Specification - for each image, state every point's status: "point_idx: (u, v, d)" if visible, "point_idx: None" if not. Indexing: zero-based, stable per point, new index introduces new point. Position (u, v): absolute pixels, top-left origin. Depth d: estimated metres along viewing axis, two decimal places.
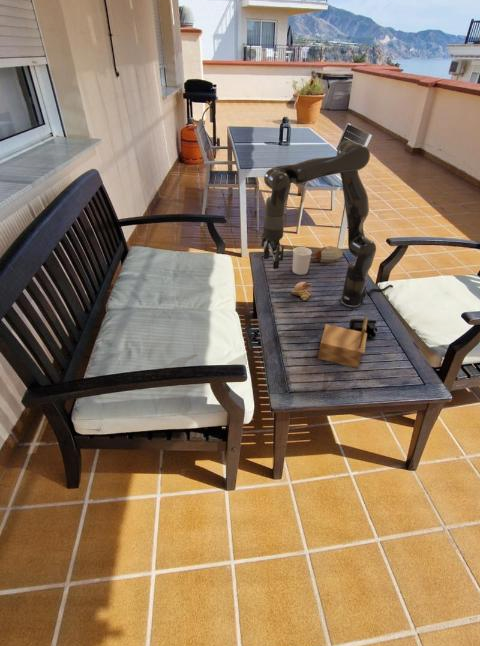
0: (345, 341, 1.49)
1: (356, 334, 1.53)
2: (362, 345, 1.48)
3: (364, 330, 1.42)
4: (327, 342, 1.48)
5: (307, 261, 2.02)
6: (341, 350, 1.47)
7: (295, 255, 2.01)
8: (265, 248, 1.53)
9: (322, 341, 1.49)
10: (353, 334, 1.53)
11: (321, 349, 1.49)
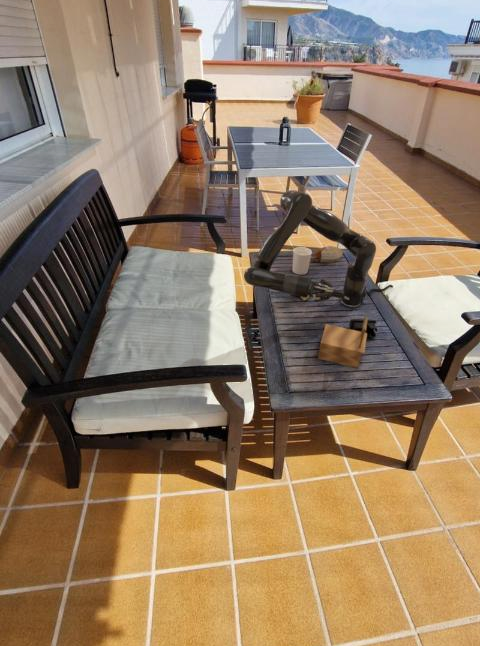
0: (345, 341, 1.49)
1: (356, 334, 1.53)
2: (362, 345, 1.48)
3: (364, 330, 1.42)
4: (327, 342, 1.48)
5: (307, 261, 2.02)
6: (341, 350, 1.47)
7: (295, 255, 2.01)
8: None
9: (322, 341, 1.49)
10: (353, 334, 1.53)
11: (321, 349, 1.49)
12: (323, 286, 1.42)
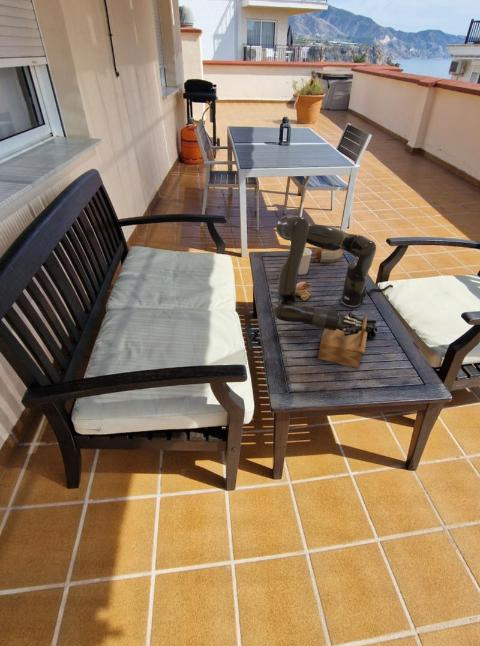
0: (345, 341, 1.49)
1: None
2: (362, 344, 1.47)
3: (363, 329, 1.41)
4: (327, 342, 1.48)
5: (307, 261, 2.02)
6: (341, 350, 1.47)
7: None
8: (355, 327, 1.47)
9: (322, 341, 1.48)
10: None
11: (321, 349, 1.49)
12: (352, 320, 1.46)
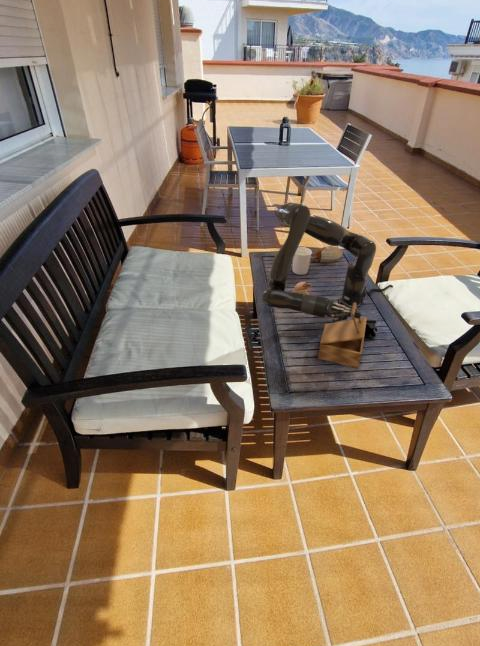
0: (344, 333, 1.47)
1: None
2: (361, 330, 1.44)
3: (352, 315, 1.40)
4: (326, 340, 1.48)
5: (307, 261, 2.02)
6: (341, 350, 1.47)
7: (295, 255, 2.01)
8: None
9: (321, 340, 1.48)
10: (352, 323, 1.50)
11: (321, 349, 1.49)
12: (341, 306, 1.45)
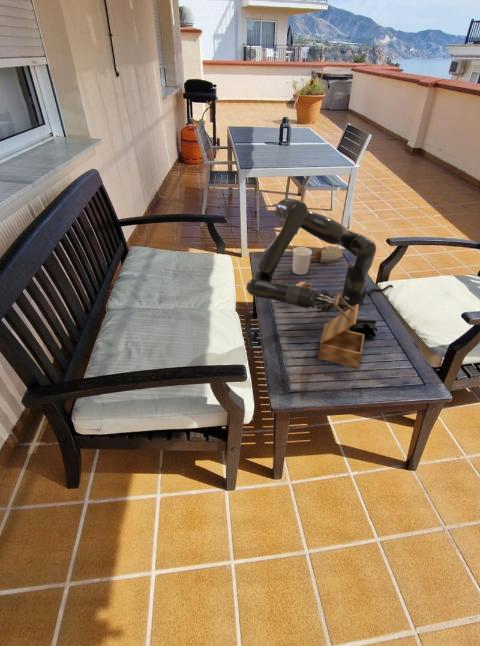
0: (339, 326, 1.46)
1: (348, 312, 1.49)
2: (352, 317, 1.42)
3: (335, 305, 1.40)
4: (325, 338, 1.47)
5: (307, 261, 2.02)
6: (341, 350, 1.47)
7: (295, 255, 2.01)
8: None
9: (321, 340, 1.48)
10: (346, 314, 1.49)
11: (321, 349, 1.49)
12: (325, 297, 1.45)
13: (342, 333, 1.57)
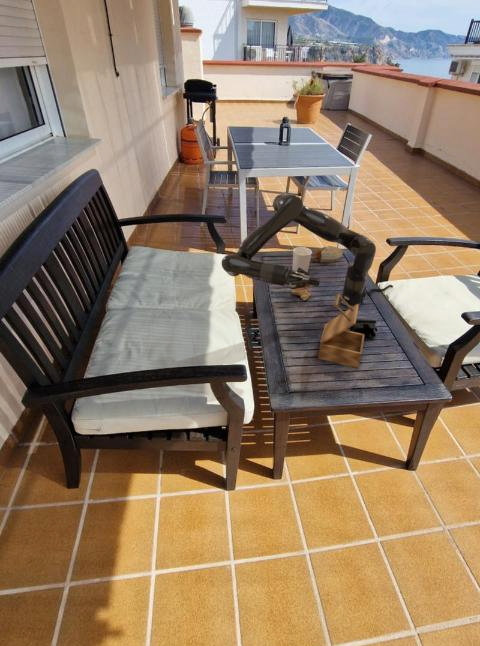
0: (339, 326, 1.46)
1: (348, 312, 1.49)
2: (352, 317, 1.42)
3: (335, 305, 1.40)
4: (325, 338, 1.47)
5: (307, 261, 2.02)
6: (341, 350, 1.47)
7: (295, 255, 2.01)
8: None
9: (321, 340, 1.48)
10: (346, 314, 1.49)
11: (321, 349, 1.49)
12: (299, 274, 1.43)
13: (342, 333, 1.57)
